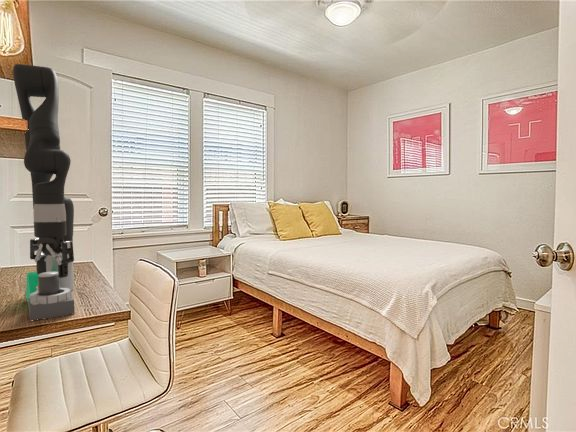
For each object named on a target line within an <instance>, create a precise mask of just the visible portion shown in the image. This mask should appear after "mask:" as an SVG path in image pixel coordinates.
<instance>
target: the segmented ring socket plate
mask: <svg viewBox="0 0 576 432" xmlns="http://www.w3.org/2000/svg"><path fill="white" fill-rule="evenodd" d="M27 306H28V307H27V308H28V309H27V310H28V311H29V312H28V311H27V312H28V317H29V316H30V317H29V322H30V321H31V320H37V319H43V318H49V319H54V318H58V316H60V317H63V316H62V315H65V316H68V315H67V314H70V315H73V314H72V313H74V314H75V299H74V298H73V296H72V291H71V290H70V289H69V288H60V293H59V294H55V295H47V296H40V295H39V294H38V290H36V292H33V293H31V294H30V298H28V301H27ZM53 317H54V318H53ZM43 320H44V319H43Z"/></svg>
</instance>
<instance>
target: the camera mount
mask: <svg viewBox="0 0 576 432" xmlns="http://www.w3.org/2000/svg"><path fill="white" fill-rule="evenodd" d="M38 276H39V275H38V274H37V271H32V272H27V273H26V286H25V288H26V289H25V300H26V301H27V302H28V298H30V294H31V293H33V292H36V291H37V287H38Z"/></svg>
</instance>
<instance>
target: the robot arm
mask: <svg viewBox="0 0 576 432" xmlns="http://www.w3.org/2000/svg"><path fill="white" fill-rule="evenodd" d="M12 75H13V81H14V88H15V91H16V96H17V100H18V104H19V109H20V114H21V120H22V119H25V120H28V129H29V130H28V132H26V133H24V132H23V136H24V142H25V144H24V145H25V150H26V151H25V153H24V157H23V165H24V167H25V169H26V170H27V171H28V172H30V180H31V190H32V193H31V194H32V206H33V207H32V209H33V234H34V237H36V238H30V239H29V259H30V260H33V261H34V262H35V264H36V272H37V274H38V275H39V274H40V273H44V272H58V277H59V278H60V288H69V289H70V290H71V292H72V291H73V290H75V285H74V284H75V281H74V279H75V275H74V261H75V257H74V256H75V255H74V244H73V243H74V242H73V241H74V240H73V239H74V237H73V236H74V219H75V217H74V216H75V214H74V213H75V207H74V202H73V201H72V199H71V198H70V197H67V196H66V197H65V186H66V185H65V184H66V180H67V175H68V174H69V171H70V167H71V162H72V160H71V157H70V154H69V153H68V152H67V151H65V150H62V149H61V137H60V130H59V123H58V122H59V120H58V119H59V117H58V115H59V104H60V103H59V101H60V99H59V94H60V93H59V82H58V75H57V73H56V71H55V70H54V69H53V68H51V67H48V66H40V65H31V64H24V63H22V64H21V63H16V64H14V65H13V68H12ZM32 97H35V98H45V99H44V100H43V102H42V103H41V104H40V105H39V106H37V108H35V106H34V104H33V103H32V100H31V98H32ZM54 175H55V177H54V179H52V177H53V176H54Z"/></svg>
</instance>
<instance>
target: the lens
mask: <svg viewBox="0 0 576 432" xmlns="http://www.w3.org/2000/svg"><path fill="white" fill-rule="evenodd" d="M37 288H38V289H37V291H38V294H39V295H40V296H47V295H55V294H59V293H60V278H59V277H58V272H44V273H40V274H39V276H38V286H37Z"/></svg>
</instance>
